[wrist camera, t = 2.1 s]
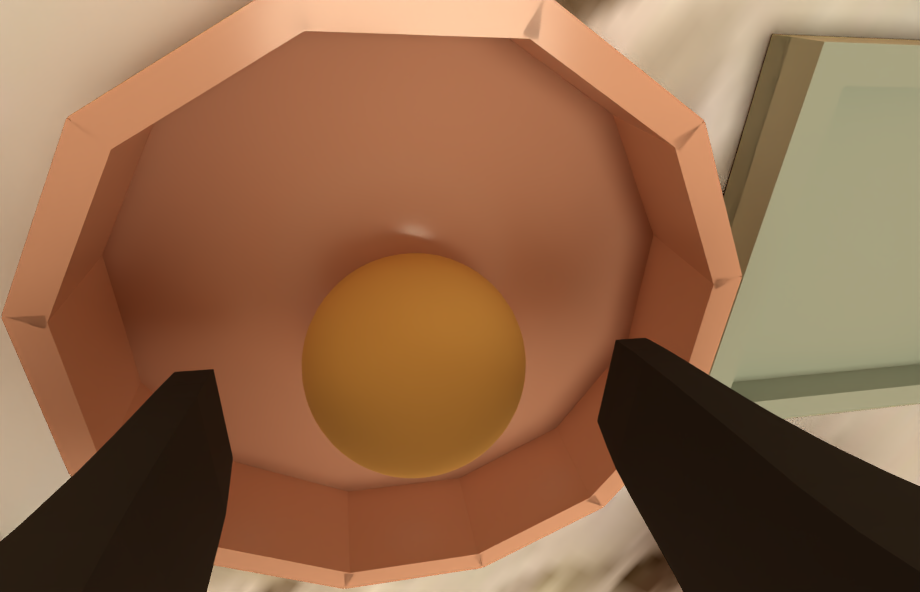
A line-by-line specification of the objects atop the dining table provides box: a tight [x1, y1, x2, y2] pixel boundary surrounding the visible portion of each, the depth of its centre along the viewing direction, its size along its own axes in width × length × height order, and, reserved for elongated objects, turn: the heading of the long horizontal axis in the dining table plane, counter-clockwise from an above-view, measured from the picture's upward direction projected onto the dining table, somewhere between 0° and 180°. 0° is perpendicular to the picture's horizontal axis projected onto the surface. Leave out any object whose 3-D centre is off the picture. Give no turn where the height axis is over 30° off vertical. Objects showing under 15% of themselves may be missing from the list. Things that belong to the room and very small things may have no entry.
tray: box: [709, 34, 920, 419], centre depth 15 cm, size 10×10×2 cm
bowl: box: [1, 0, 742, 589], centre depth 12 cm, size 13×13×3 cm
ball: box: [302, 253, 526, 478], centre depth 11 cm, size 4×4×4 cm
